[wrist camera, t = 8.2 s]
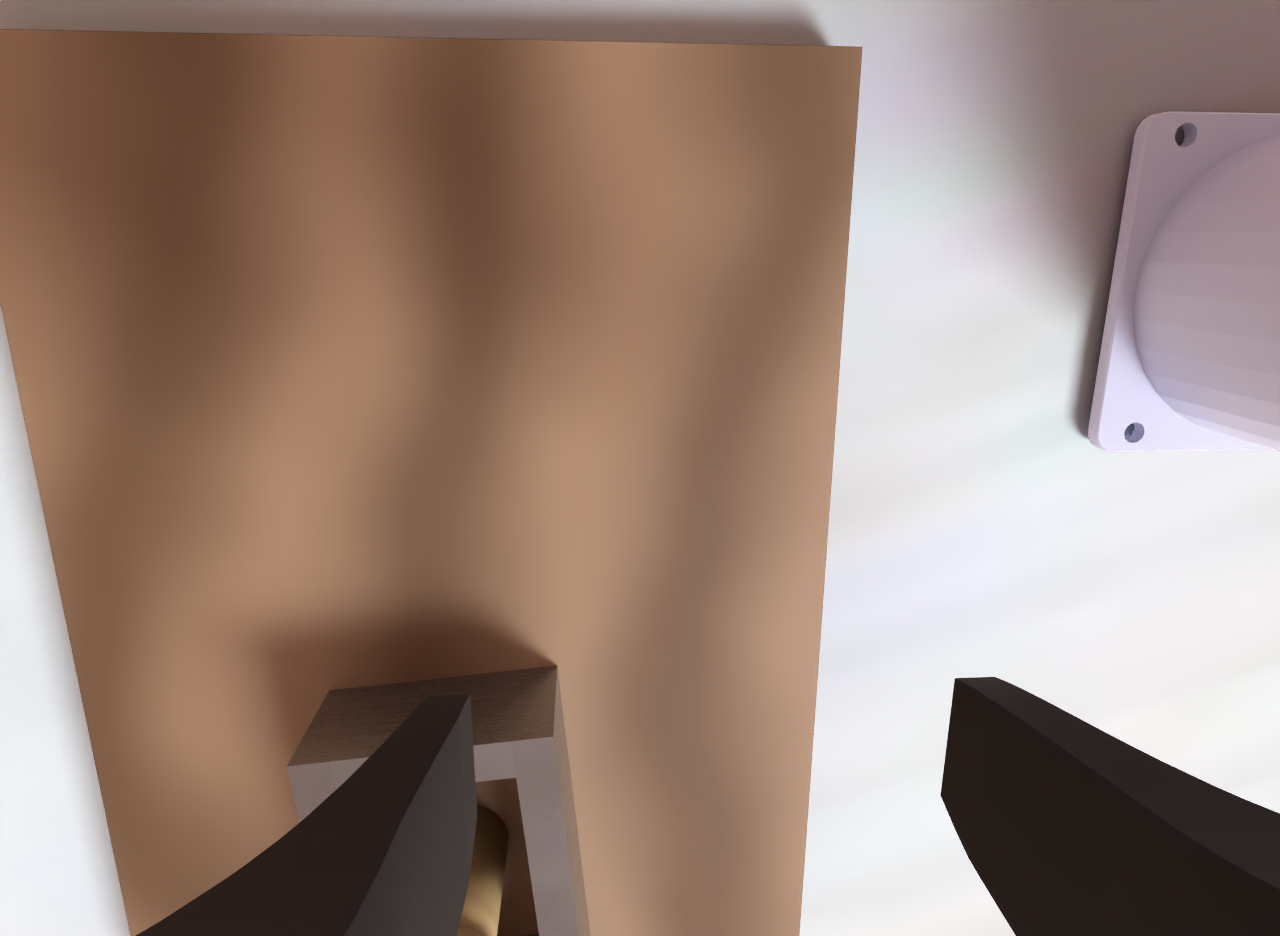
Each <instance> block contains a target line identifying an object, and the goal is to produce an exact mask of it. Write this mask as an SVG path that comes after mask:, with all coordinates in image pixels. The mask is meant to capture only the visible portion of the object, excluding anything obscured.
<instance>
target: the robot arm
mask: <svg viewBox="0 0 1280 936" xmlns="http://www.w3.org/2000/svg"><path fill="white" fill-rule="evenodd" d="M1180 126H1181V127H1182V128H1183V130H1184V131H1185V138H1184V141H1183V143H1182V144H1181V145H1180V146H1178V144H1177V143H1176V141H1175V134H1176V131H1177V129H1178V128H1179V127H1180ZM1132 423H1133V424H1134V431H1133V433H1132V435H1131V436H1130V437H1128V438H1126V439H1125V436H1124V432H1125V430H1126V428H1127V427H1128V426H1129V425H1130V424H1132ZM1088 438H1089V440H1090V442H1091V443H1092V444H1093V445H1094V446H1096V447H1097V448H1099V449H1102V450H1105V451H1110V452H1127V451H1198V450H1270V449H1275V450H1278V451H1280V113H1238V112H1173V111H1167V112H1162V113H1158V114H1153V115H1150V116H1148V117H1147V118H1145V119H1144V120H1143V121H1142V122H1141V123H1140V125H1139V126H1138V127H1137V130H1136V133H1135V136H1134V142H1133V149H1132V155H1131V161H1130V168H1129V174H1128V180H1127V187H1126V193H1125V199H1124V206H1123V212H1122V218H1121V225H1120V231H1119V237H1118V244H1117V250H1116V256H1115V263H1114V269H1113V275H1112V282H1111V288H1110V294H1109V301H1108V307H1107V313H1106V320H1105V326H1104V333H1103V339H1102V345H1101V352H1100V358H1099V364H1098V371H1097V377H1096V383H1095V390H1094V396H1093V402H1092V409H1091V415H1090V421H1089V428H1088ZM941 797H942V799H943V802H944V804H945V806H946V809H947V811H948V813H949V816H950V818H951V820H952V823H953V825H954V827H955V830H956V832H957V834H958V836H959V838H960V840H961V843H962V845H963V847H964V849H965V851H966V853H967V855H968V858H969V859H970V861H971V863H972V864H973V866H974V868H975V870H976V871H977V873H978V875H979V876H980V878H981V880H982V881H983V883H984V884H985V886H986V888H987V889H988V891H989V893H990V894H991V896H992V898H993V899H994V901H995V903H996V904H997V906H998V907H999V909H1000V911H1001V912H1002V914H1003V916H1004V917H1005V919H1006V920H1007V922H1008V924H1009V925H1010V927H1011V928H1012V930H1013V932H1014V933H1015V935H1016V936H1280V814H1279V813H1277V812H1274V811H1272V810H1269V809H1267V808H1264V807H1262V806H1259V805H1257V804H1254V803H1252V802H1250V801H1247V800H1245V799H1242V798H1240V797H1238V796H1235V795H1233V794H1231V793H1228V792H1226V791H1224V790H1222V789H1219V788H1217V787H1215V786H1213V785H1210V784H1208V783H1206V782H1204V781H1202V780H1200V779H1198V778H1196V777H1194V776H1191V775H1189V774H1187V773H1185V772H1183V771H1181V770H1179V769H1177V768H1175V767H1172V766H1170V765H1168V764H1166V763H1164V762H1162V761H1160V760H1158V759H1156V758H1154V757H1152V756H1150V755H1148V754H1146V753H1144V752H1142V751H1140V750H1138V749H1136V748H1134V747H1132V746H1130V745H1128V744H1126V743H1124V742H1122V741H1120V740H1119V739H1117V738H1115V737H1113V736H1111V735H1109V734H1107V733H1105V732H1103V731H1101V730H1099V729H1098V728H1096V727H1094V726H1092V725H1090V724H1088V723H1086V722H1084V721H1082V720H1081V719H1079V718H1077V717H1075V716H1073V715H1071V714H1069V713H1067V712H1065V711H1064V710H1062V709H1060V708H1058V707H1056V706H1054V705H1052V704H1050V703H1048V702H1047V701H1045V700H1043V699H1041V698H1039V697H1037V696H1035V695H1033V694H1031V693H1029V692H1027V691H1025V690H1023V689H1021V688H1019V687H1017V686H1015V685H1012V684H1010V683H1008V682H1006V681H1003V680H1001V679H998V678H996V677H981V678H955V683H954V691H953V699H952V707H951V715H950V724H949V732H948V740H947V748H946V756H945V764H944V773H943V781H942V789H941ZM476 822H477V801H476V784H475V768H474V751H473V734H472V717H471V700H470V694H466V695H436V696H427V697H426V698H425V699H424V700H423V701H422V702H421V703H420V704H419V705H418V706H417V707H416V708H415V709H414V710H413V711H412V712H411V713H410V714H409V715H408V716H407V717H406V719H405V720H404V721H403V722H402V723H401V724H400V725H399V726H398V727H397V728H396V729H395V730H394V732H393V733H392V734H391V735H390V736H389V737H388V738H387V739H386V740H385V741H384V742H383V743H382V744H381V745H380V746H379V748H378V749H377V750H376V751H375V752H374V753H373V754H372V755H371V756H370V757H369V758H368V759H367V760H366V761H365V762H364V763H363V764H362V765H361V766H360V767H359V768H358V769H357V770H356V771H355V772H354V773H353V774H352V775H351V776H350V777H349V778H348V779H347V780H346V781H345V782H344V783H343V784H342V785H341V786H340V787H339V788H337V789H336V790H335V791H334V792H333V793H332V794H331V795H330V796H329V797H328V798H327V799H325V800H324V801H323V802H322V803H321V804H320V805H319V806H318V807H317V808H316V809H314V810H313V811H312V812H311V813H310V814H309V815H308V816H307V817H306V818H304V819H303V820H302V821H301V822H300V823H298V824H297V825H296V826H295V827H294V828H293V829H291V830H290V831H289V832H288V833H286V834H285V835H284V836H283V837H281V838H280V839H279V840H278V841H276V842H275V843H274V844H272V845H271V846H270V847H268V848H267V849H266V850H264V851H263V852H262V853H260V854H259V855H258V856H256V857H255V858H254V859H252V860H251V861H250V862H248V863H247V864H246V865H244V866H243V867H242V868H240V869H239V870H237V871H236V872H235V873H233V874H232V875H230V876H229V877H227V878H226V879H224V880H223V881H221V882H220V883H218V884H217V885H215V886H214V887H212V888H211V889H209V890H207V891H206V892H204V893H203V894H201V895H200V896H198V897H197V898H195V899H194V900H192V901H191V902H189V903H187V904H186V905H184V906H183V907H181V908H180V909H178V910H177V911H175V912H174V913H172V914H171V915H169V916H167V917H166V918H164V919H163V920H161V921H160V922H158V923H156V924H155V925H153V926H151V927H149V928H148V929H146V930H144V931H143V932H141V933H139V934H137V935H136V936H457V932H458V927H459V923H460V919H461V915H462V911H463V907H464V902H465V898H466V894H467V890H468V885H469V880H470V872H471V864H472V856H473V848H474V840H475V831H476Z"/></svg>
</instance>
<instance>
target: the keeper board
mask: <svg viewBox="0 0 1280 936" xmlns="http://www.w3.org/2000/svg"><path fill="white" fill-rule="evenodd" d="M861 59H862V47H848V46H799V45H751V44H702V43H653V42H605V41H556V40H507V39H458V38H410V37H361V36H312V35H264V34H215V33H166V32H117V31H69V30H20V29H0V303H1V308H2V313H3V318H4V323H5V328H6V332H7V337H8V342H9V347H10V352H11V357H12V362H13V366H14V371H15V376H16V381H17V386H18V391H19V396H20V400H21V405H22V410H23V415H24V420H25V425H26V430H27V434H28V439H29V444H30V449H31V454H32V459H33V464H34V468H35V473H36V478H37V483H38V488H39V493H40V498H41V502H42V507H43V512H44V517H45V522H46V527H47V532H48V536H49V541H50V546H51V551H52V556H53V561H54V565H55V570H56V575H57V580H58V585H59V590H60V595H61V599H62V604H63V609H64V614H65V619H66V624H67V629H68V633H69V638H70V643H71V648H72V653H73V658H74V663H75V667H76V672H77V677H78V682H79V687H80V692H81V697H82V701H83V706H84V711H85V716H86V721H87V726H88V731H89V735H90V740H91V745H92V750H93V755H94V760H95V765H96V769H97V774H98V779H99V784H100V789H101V794H102V798H103V803H104V808H105V813H106V818H107V823H108V828H109V832H110V837H111V842H112V847H113V852H114V857H115V862H116V866H117V871H118V876H119V881H120V886H121V891H122V896H123V900H124V905H125V910H126V915H127V920H128V925H129V930H130V934H131V936H136V935H137V934H139V933H141V932H143V931H144V930H146V929H148V928H149V927H151V926H153V925H155V924H156V923H158V922H160V921H161V920H163V919H164V918H166V917H167V916H169V915H171V914H172V913H174V912H175V911H177V910H178V909H180V908H181V907H183V906H184V905H186V904H187V903H189V902H191V901H192V900H194V899H195V898H197V897H198V896H200V895H201V894H203V893H204V892H206V891H207V890H209V889H211V888H212V887H214V886H215V885H217V884H218V883H220V882H221V881H223V880H224V879H226V878H227V877H229V876H230V875H232V874H233V873H235V872H236V871H237V870H239V869H240V868H242V867H243V866H244V865H246V864H247V863H248V862H250V861H251V860H252V859H254V858H255V857H256V856H258V855H259V854H260V853H262V852H263V851H264V850H266V849H267V848H268V847H270V846H271V845H272V844H274V843H275V842H276V841H278V840H279V839H280V838H281V837H283V836H284V835H285V834H286V833H288V832H289V831H290V830H291V829H293V828H294V827H295V826H296V825H297V824H298V823H300V822H299V817H298V813H297V809H296V805H295V800H294V796H293V792H292V788H291V783H290V779H289V775H288V771H287V765H288V763H289V761H290V759H291V758H292V756H293V754H294V752H295V750H296V749H297V747H298V745H299V743H300V742H301V740H302V738H303V736H304V734H305V733H306V731H307V729H308V727H309V725H310V724H311V722H312V720H313V718H314V717H315V715H316V713H317V711H318V709H319V708H320V706H321V704H322V702H323V701H324V699H325V697H326V695H327V693H328V692H329V690H336V689H345V688H354V687H363V686H372V685H382V684H391V683H400V682H409V681H419V680H428V679H437V678H446V677H456V676H465V675H474V674H483V673H493V672H502V671H511V670H520V669H530V668H539V667H548V666H558V675H559V683H560V691H561V699H562V707H563V715H564V723H565V731H566V739H567V747H568V756H569V764H570V772H571V780H572V788H573V796H574V804H575V812H576V820H577V828H578V837H579V845H580V853H581V861H582V869H583V877H584V885H585V893H586V901H587V909H588V918H589V926H590V934H591V936H799V932H800V918H801V904H802V890H803V876H804V862H805V848H806V834H807V819H808V805H809V791H810V777H811V763H812V749H813V735H814V721H815V707H816V693H817V679H818V664H819V650H820V636H821V622H822V608H823V594H824V580H825V566H826V552H827V538H828V524H829V509H830V495H831V481H832V467H833V453H834V439H835V425H836V411H837V397H838V383H839V369H840V354H841V340H842V326H843V312H844V298H845V284H846V270H847V256H848V242H849V228H850V214H851V199H852V185H853V171H854V157H855V143H856V129H857V115H858V101H859V87H860V73H861ZM475 784H476V801H477V822H476V831H475V840H474V848H473V856H472V864H471V872H470V880H469V885H468V890H467V894H466V898H465V902H464V907H463V911H462V915H461V919H460V923H459V927H458V932H457V936H521V935H529V934H537V933H539V931H538V924H537V917H536V911H535V904H534V897H533V890H532V883H531V876H530V869H529V862H528V856H527V849H526V842H525V835H524V828H523V821H522V814H521V807H520V801H519V794H518V787H517V780H516V778H508V779H499V780H490V781H481V782H475Z"/></svg>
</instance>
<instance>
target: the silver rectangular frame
mask: <svg viewBox="0 0 1280 936" xmlns="http://www.w3.org/2000/svg"><path fill="white" fill-rule="evenodd" d="M466 694H470V700H471V717H472V734H473V751H474V768H475V782H481V781H490V780H499V779H508V778H516V780H517V787H518V794H519V801H520V807H521V814H522V821H523V828H524V835H525V842H526V849H527V856H528V862H529V869H530V876H531V883H532V890H533V897H534V904H535V911H536V917H537V924H538V931H539V933H537V934H529V935H521V936H591V934H590V926H589V918H588V909H587V901H586V893H585V885H584V877H583V869H582V861H581V853H580V845H579V837H578V828H577V820H576V812H575V804H574V796H573V788H572V780H571V772H570V764H569V756H568V747H567V739H566V731H565V723H564V715H563V707H562V699H561V691H560V683H559V675H558V666H548V667H539V668H530V669H520V670H511V671H502V672H493V673H483V674H474V675H465V676H456V677H446V678H437V679H428V680H419V681H409V682H400V683H391V684H382V685H372V686H363V687H354V688H345V689H336V690H329V692H328V693H327V695H326V697H325V699H324V701H323V702H322V704H321V706H320V708H319V709H318V711H317V713H316V715H315V717H314V718H313V720H312V722H311V724H310V725H309V727H308V729H307V731H306V733H305V734H304V736H303V738H302V740H301V742H300V743H299V745H298V747H297V749H296V750H295V752H294V754H293V756H292V758H291V759H290V761H289V763H288V765H287V771H288V775H289V779H290V783H291V788H292V792H293V796H294V800H295V805H296V809H297V813H298V817H299V822H301V821H302V820H303V819H304V818H306V817H307V816H308V815H309V814H310V813H311V812H312V811H313V810H314V809H316V808H317V807H318V806H319V805H320V804H321V803H322V802H323V801H324V800H325V799H327V798H328V797H329V796H330V795H331V794H332V793H333V792H334V791H335V790H336V789H337V788H339V787H340V786H341V785H342V784H343V783H344V782H345V781H346V780H347V779H348V778H349V777H350V776H351V775H352V774H353V773H354V772H355V771H356V770H357V769H358V768H359V767H360V766H361V765H362V764H363V763H364V762H365V761H366V760H367V759H368V758H369V757H370V756H371V755H372V754H373V753H374V752H375V751H376V750H377V749H378V748H379V746H380V745H381V744H382V743H383V742H384V741H385V740H386V739H387V738H388V737H389V736H390V735H391V734H392V733H393V732H394V730H395V729H396V728H397V727H398V726H399V725H400V724H401V723H402V722H403V721H404V720H405V719H406V717H407V716H408V715H409V714H410V713H411V712H412V711H413V710H414V709H415V708H416V707H417V706H418V705H419V704H420V703H421V702H422V701H423V700H424V699H425V698H426V697H427V696H436V695H466Z"/></svg>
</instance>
